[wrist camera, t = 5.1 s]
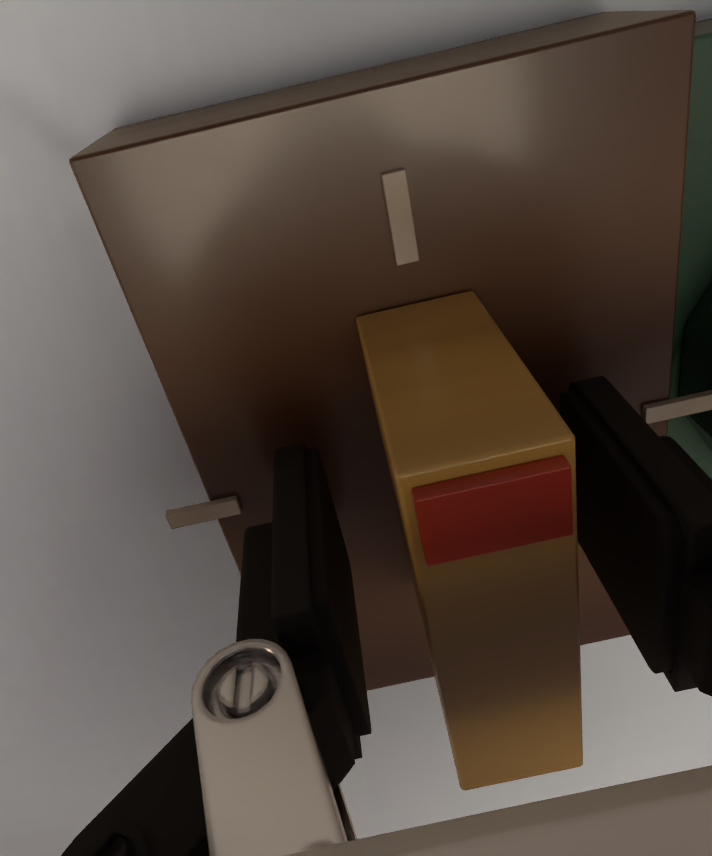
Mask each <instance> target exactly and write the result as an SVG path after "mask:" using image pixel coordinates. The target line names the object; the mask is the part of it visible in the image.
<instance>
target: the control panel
mask: <svg viewBox="0 0 712 856" xmlns="http://www.w3.org/2000/svg"><path fill="white" fill-rule="evenodd" d="M695 18H696V14H695V11H693V10H671V11H623V12H602V13H598V14H594V15H590V16H585V17H581V18H577V19H573V20H569V21H564V22H560V23H556V24H552V25H548V26H543V27H539V28H535V29H531V30H527V31H522V32H518V33H514V34H510V35H506V36H501V37H497V38H493V39H489V40H485V41H480V42H476V43H472V44H468V45H464V46H459V47H455V48H451V49H447V50H443V51H438V52H434V53H430V54H426V55H422V56H417V57H413V58H409V59H405V60H401V61H396V62H392V63H388V64H384V65H380V66H375V67H371V68H367V69H363V70H359V71H354V72H350V73H346V74H342V75H338V76H333V77H329V78H325V79H321V80H317V81H312V82H308V83H304V84H300V85H296V86H291V87H287V88H283V89H279V90H275V91H270V92H266V93H262V94H258V95H254V96H249V97H245V98H241V99H237V100H233V101H228V102H224V103H220V104H216V105H212V106H207V107H203V108H199V109H195V110H191V111H186V112H182V113H178V114H174V115H170V116H165V117H161V118H157V119H153V120H149V121H144V122H140V123H136V124H132V125H128V126H123V127H119V128H115V129H114V130H112V131H111V132H109V133H108V134H106V135H105V136H103V137H102V138H100V139H99V140H97V141H96V142H94V143H92V144H91V145H89V146H88V147H86V148H85V149H83V150H82V151H80V152H79V153H77V154H76V155H74V156H73V157H71V158H70V159H69V163H70V165H71V168H72V170H73V173H74V175H75V177H76V180H77V182H78V185H79V187H80V189H81V192H82V194H83V197H84V199H85V201H86V204H87V206H88V209H89V211H90V213H91V216H92V218H93V221H94V223H95V225H96V228H97V230H98V233H99V235H100V237H101V240H102V242H103V245H104V247H105V250H106V252H107V254H108V257H109V259H110V262H111V264H112V266H113V269H114V271H115V274H116V276H117V278H118V281H119V283H120V286H121V288H122V290H123V293H124V295H125V298H126V300H127V302H128V305H129V307H130V310H131V312H132V314H133V317H134V319H135V322H136V324H137V326H138V329H139V331H140V334H141V336H142V338H143V341H144V343H145V346H146V348H147V351H148V353H149V355H150V358H151V360H152V363H153V365H154V367H155V370H156V372H157V375H158V377H159V379H160V382H161V384H162V387H163V389H164V391H165V394H166V396H167V399H168V401H169V403H170V406H171V408H172V411H173V413H174V415H175V418H176V420H177V423H178V425H179V427H180V430H181V432H182V435H183V437H184V440H185V442H186V444H187V447H188V449H189V452H190V454H191V456H192V459H193V461H194V464H195V466H196V468H197V471H198V473H199V476H200V478H201V480H202V483H203V485H204V488H205V490H206V492H207V495H208V497H209V500H210V501H208V502H203V503H199V504H194V505H190V506H185V507H181V508H176V509H172V510H167V511H166V514H165V516H166V518H167V520H168V523H169V525H170V527H171V529H174V528H179V527H184V526H188V525H193V524H197V523H202V522H206V521H211V520H215V519H218V521H219V524H220V526H221V528H222V531H223V533H224V536H225V538H226V541H227V543H228V545H229V548H230V550H231V553H232V555H233V557H234V560H235V562H236V565H237V567H238V569H239V572H240V574H241V570H242V556H243V543H244V533H245V530H246V528H247V527H252V526H256V525H261V524H265V523H270V522H272V517H273V466H274V449H275V448H279V447H284V446H288V445H293V444H297V443H302V442H304V443H305V445H306V448H307V449H311V448H316V447H317V448H318V451H319V454H320V458H321V461H322V465H323V468H324V472H325V475H326V479H327V482H328V486H329V489H330V493H331V496H332V500H333V503H334V507H335V510H336V514H337V517H338V521H339V524H340V528H341V531H342V535H343V538H344V542H345V545H346V549H347V553H348V556H349V561H350V566H351V571H352V579H353V587H354V595H355V603H356V611H357V619H358V627H359V635H360V643H361V651H362V659H363V667H364V675H365V683H366V690H367V691H368V690H372V689H377V688H382V687H386V686H391V685H396V684H401V683H405V682H410V681H415V680H419V679H424V678H429V677H434V671H433V667H432V663H431V658H430V654H429V650H428V645H427V641H426V637H425V632H424V628H423V624H422V620H421V615H420V611H419V607H418V602H417V598H416V594H415V589H414V585H413V580H412V576H411V571H410V567H409V562H408V557H407V553H406V548H405V544H404V539H403V534H402V530H401V525H400V521H399V516H398V511H397V507H396V502H395V498H394V493H393V488H392V484H391V479H390V475H389V470H388V466H387V461H386V456H385V452H384V447H383V443H382V438H381V433H380V429H379V424H378V420H377V415H376V410H375V406H374V401H373V397H372V392H371V388H370V383H369V378H368V374H367V369H366V365H365V360H364V355H363V351H362V346H361V342H360V337H359V332H358V328H357V323H356V319H357V317H359V316H363V315H367V314H372V313H376V312H380V311H385V310H389V309H393V308H398V307H402V306H407V305H411V304H415V303H420V302H424V301H429V300H433V299H437V298H442V297H446V296H450V295H455V294H459V293H464V292H468V291H473V292H474V293H475V295H476V296H477V297H478V299H479V300H480V302H481V303H482V305H483V306H484V307H485V309H486V310H487V312H488V313H489V315H490V316H491V317H492V319H493V320H494V322H495V323H496V325H497V326H498V327H499V329H500V330H501V332H502V333H503V334H504V336H505V337H506V339H507V340H508V342H509V343H510V344H511V346H512V347H513V349H514V350H515V352H516V353H517V354H518V356H519V357H520V359H521V360H522V362H523V363H524V364H525V366H526V367H527V369H528V370H529V372H530V373H531V374H532V376H533V377H534V379H535V380H536V382H537V383H538V384H539V386H540V387H541V389H542V390H543V392H544V393H545V394H546V396H547V397H548V399H549V400H550V402H551V403H552V404H553V406H554V407H555V409H556V410H557V412H558V413H559V414H560V394H561V393H562V392H567V391H568V388H569V384H570V383H571V382H575V381H579V380H584V379H588V378H593V377H597V376H604V377H605V378H607V379H608V381H609V382H610V383H611V384H612V385H613V386H614V387H615V388H616V389H617V391H618V392H619V393H620V394H621V395H622V396H623V397H624V398H625V399H626V401H627V402H628V403H629V404H630V405H631V406H632V407H633V408H634V409H635V411H636V412H637V413H638V414H639V415H640V416H641V417H642V418H643V419H644V421H645V422H646V423H647V424H648V425H649V426H650V427H651V428H652V429H653V430H654V432H655V433H656V434H657V435H658V436H659V437H660V436H667V430H668V419H672V418H677V417H681V416H686V415H690V414H695V413H699V412H704V411H708V410H712V390H708V391H704V392H699V393H695V394H690V395H686V396H681V397H677V398H672V399H670V386H671V371H672V356H673V341H674V327H675V312H676V297H677V283H678V268H679V253H680V239H681V224H682V209H683V194H684V180H685V165H686V150H687V136H688V121H689V106H690V92H691V77H692V62H693V47H694V33H695ZM578 582H579V624H580V645H584V644H589V643H593V642H598V641H603V640H608V639H612V638H617V637H622V636H626V635H631V634H630V633H629V631H628V629H627V627H626V626H625V624H624V622H623V620H622V619H621V617H620V615H619V613H618V611H617V610H616V608H615V606H614V604H613V603H612V601H611V599H610V597H609V596H608V594H607V592H606V590H605V588H604V587H603V585H602V583H601V581H600V580H599V578H598V576H597V574H596V573H595V571H594V569H593V567H592V565H591V564H590V562H589V560H588V558H587V557H586V555H585V553H584V551H583V550H582V548H581V546H580V544H579V542H578Z"/></svg>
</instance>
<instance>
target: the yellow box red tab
mask: <svg viewBox="0 0 712 856" xmlns="http://www.w3.org/2000/svg"><path fill="white" fill-rule="evenodd" d="M356 323H357V328H358V332H359V337H360V342H361V346H362V351H363V355H364V360H365V365H366V369H367V374H368V378H369V383H370V388H371V392H372V397H373V401H374V406H375V410H376V415H377V420H378V424H379V429H380V433H381V438H382V443H383V447H384V452H385V456H386V461H387V466H388V470H389V475H390V479H391V484H392V488H393V493H394V498H395V502H396V507H397V511H398V516H399V521H400V525H401V530H402V534H403V539H404V544H405V548H406V553H407V557H408V562H409V567H410V571H411V576H412V580H413V585H414V589H415V594H416V598H417V602H418V607H419V611H420V615H421V620H422V624H423V628H424V632H425V637H426V641H427V645H428V650H429V654H430V658H431V663H432V667H433V671H434V676H435V680H436V684H437V689H438V693H439V697H440V702H441V706H442V710H443V714H444V719H445V723H446V727H447V732H448V736H449V740H450V745H451V749H452V753H453V758H454V762H455V766H456V771H457V775H458V779H459V783H460V787H461V788H462V790H469V789H474V788H479V787H484V786H489V785H493V784H498V783H503V782H508V781H513V780H518V779H522V778H527V777H532V776H537V775H542V774H546V773H551V772H556V771H561V770H566V769H570V768H575V767H580V766H582V765H583V749H582V707H581V666H580V624H579V582H578V541H577V499H576V457H575V436H574V434H573V433H572V432H571V430H570V429H569V427H568V426H567V424H566V423H565V422H564V420H563V419H562V417H561V416H560V414H559V413H558V412H557V410H556V409H555V407H554V406H553V404H552V403H551V402H550V400H549V399H548V397H547V396H546V394H545V393H544V392H543V390H542V389H541V387H540V386H539V384H538V383H537V382H536V380H535V379H534V377H533V376H532V374H531V373H530V372H529V370H528V369H527V367H526V366H525V364H524V363H523V362H522V360H521V359H520V357H519V356H518V354H517V353H516V352H515V350H514V349H513V347H512V346H511V344H510V343H509V342H508V340H507V339H506V337H505V336H504V334H503V333H502V332H501V330H500V329H499V327H498V326H497V325H496V323H495V322H494V320H493V319H492V317H491V316H490V315H489V313H488V312H487V310H486V309H485V307H484V306H483V305H482V303H481V302H480V300H479V299H478V297H477V296H476V295H475V293H474V292H473V291H468V292H464V293H459V294H455V295H450V296H446V297H442V298H437V299H433V300H429V301H424V302H420V303H415V304H411V305H407V306H402V307H398V308H393V309H389V310H385V311H380V312H376V313H372V314H367V315H363V316H359V317H357V319H356Z"/></svg>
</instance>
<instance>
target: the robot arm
mask: <svg viewBox="0 0 712 856" xmlns="http://www.w3.org/2000/svg"><path fill="white" fill-rule="evenodd" d="M560 416H561V417H562V419H563V420H564V422H565V423H566V424H567V426H568V427H569V429H570V430H571V432H572V433H573V434H574V436H575V457H576V499H577V541H578V542H579V544H580V546H581V548H582V550H583V551H584V553H585V555H586V557H587V558H588V560H589V562H590V564H591V565H592V567H593V569H594V571H595V573H596V574H597V576H598V578H599V580H600V581H601V583H602V585H603V587H604V588H605V590H606V592H607V594H608V596H609V597H610V599H611V601H612V603H613V604H614V606H615V608H616V610H617V611H618V613H619V615H620V617H621V619H622V620H623V622H624V624H625V626H626V627H627V629H628V631H629V633H630V634H631V636H632V638H633V640H634V642H635V643H636V645H637V647H638V649H639V650H640V652H641V654H642V656H643V657H644V659H645V661H646V663H647V664H648V666H649V668H650V669H651V670H652V671H653V672H654V673H661V672H664V674H665V676H666V678H667V679H668V681H669V683H670V684H671V686H672V688H673V690H674V691H675V692H677V691H682V690H687V689H692V688H696V687H698V689H699V691H700V692H703V693H705V694H707V695H710V696H712V479H711V478H710V477H709V476H708V475H707V474H706V473H705V472H704V471H703V470H702V469H701V468H700V466H699V465H698V464H697V463H696V462H695V461H694V460H693V459H692V458H691V457H690V456H689V455H688V454H687V453H686V451H685V450H684V449H683V448H682V447H681V446H680V445H679V444H678V443H677V442H676V441H675V440H674V439H672V438H671V437H669V436H660V437H659V436H658V435H657V434H656V433H655V432H654V430H653V429H652V428H651V427H650V426H649V425H648V424H647V423H646V422H645V421H644V419H643V418H642V417H641V416H640V415H639V414H638V413H637V412H636V411H635V409H634V408H633V407H632V406H631V405H630V404H629V403H628V402H627V401H626V399H625V398H624V397H623V396H622V395H621V394H620V393H619V392H618V391H617V389H616V388H615V387H614V386H613V385H612V384H611V383H610V382H609V381H608V379H607V378H605V377H604V376H597V377H593V378H588V379H584V380H579V381H575V382H571V383H570V384H569V388H568V391H567V392H562V393H561V394H560ZM191 706H192V714H193V718H192V719H191V720H190V721H189V722H188V723H187V724H186V725H185V726H184V727H183V728H182V729H181V730H180V731H179V732H178V733H177V734H176V735H175V736H174V737H173V739H172V740H171V741H170V742H169V743H168V744H167V745H166V746H165V747H164V748H163V749H162V750H161V751H160V752H159V753H158V754H157V755H156V756H155V757H154V758H153V759H152V760H151V761H150V762H149V763H148V764H147V765H146V766H145V767H144V768H143V769H142V770H141V771H140V772H139V773H138V774H137V775H136V776H135V777H134V778H133V779H132V780H131V781H130V782H129V783H128V784H127V785H126V786H125V787H124V789H123V790H122V791H121V792H120V793H119V794H118V795H117V796H116V797H115V798H114V799H113V800H112V801H111V802H110V803H109V804H108V805H107V806H106V807H105V808H104V809H103V810H102V811H101V812H100V813H99V814H98V815H97V816H96V817H95V818H94V819H93V820H92V821H91V822H90V823H89V824H88V825H87V826H86V827H85V828H84V829H83V830H82V831H81V832H80V833H79V834H78V835H77V836H76V838H75V839H74V840H73V841H72V843H71V844H70V845H69V846H68V848H67V849H66V850H65V851H64V852H63V854H62V855H61V856H712V766H707V767H702V768H697V769H692V770H687V771H682V772H678V773H673V774H668V775H663V776H658V777H653V778H648V779H644V780H639V781H634V782H629V783H624V784H619V785H614V786H610V787H605V788H600V789H595V790H590V791H585V792H581V793H576V794H571V795H566V796H561V797H557V798H552V799H547V800H542V801H537V802H532V803H528V804H523V805H518V806H513V807H508V808H503V809H499V810H494V811H489V812H485V813H480V814H475V815H470V816H466V817H461V818H456V819H452V820H447V821H442V822H437V823H433V824H428V825H423V826H419V827H414V828H409V829H404V830H400V831H395V832H390V833H386V834H381V835H376V836H371V837H367V838H362V839H357V837H356V834H355V831H354V827H353V824H352V821H351V818H350V815H349V812H348V808H347V805H346V802H345V799H344V796H343V792H342V789H341V786H340V783H341V781H342V780H343V779H344V777H345V776H346V775H347V773H348V772H349V771H350V769H351V768H352V767H353V765H354V764H355V760H354V759H358V758H362V751H361V742H360V736H362V735H367V734H371V722H370V714H369V706H368V698H367V690H366V683H365V675H364V667H363V659H362V651H361V643H360V635H359V627H358V619H357V611H356V603H355V595H354V587H353V579H352V571H351V566H350V561H349V556H348V553H347V549H346V545H345V542H344V538H343V535H342V531H341V528H340V524H339V521H338V517H337V514H336V510H335V507H334V503H333V500H332V496H331V493H330V489H329V486H328V482H327V479H326V475H325V472H324V468H323V465H322V461H321V458H320V454H319V451H318V448H317V447H316V448H311V449H307V448H306V445H305V443H304V442H302V443H297V444H293V445H288V446H284V447H279V448H275V449H274V466H273V517H272V522H270V523H265V524H261V525H256V526H252V527H247V528H246V530H245V533H244V543H243V556H242V570H241V583H240V597H239V610H238V624H237V637H236V643H233V644H231V645H229V646H227V647H225V648H223V649H222V650H220V651H218V652H217V653H216V654H215V655H214V656H213V657H211V658H210V659H209V660H208V661H207V662H206V663H205V665H204V666H203V667H202V669H201V670H200V671H199V673H198V674H197V677H196V679H195V682H194V684H193V687H192V695H191Z"/></svg>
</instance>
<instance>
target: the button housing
mask: <svg viewBox="0 0 712 856" xmlns="http://www.w3.org/2000/svg"><path fill="white" fill-rule="evenodd" d="M708 390H712V19H710V20H705V21H701V22H697V23H695V33H694V47H693V62H692V77H691V92H690V106H689V121H688V136H687V150H686V165H685V180H684V194H683V209H682V224H681V239H680V253H679V268H678V283H677V297H676V312H675V327H674V341H673V356H672V371H671V386H670V399H672V398H677V397H681V396H686V395H690V394H695V393H699V392H704V391H708ZM667 436H669V437H671V438H672V439H674V440H675V441H676V442H677V443H678V444H679V445H680V446H681V447H682V448H683V449H684V450H685V451H686V453H687V454H688V455H689V456H690V457H691V458H692V459H693V460H694V461H695V462H696V463H697V464H698V465H699V466H700V468H701V469H702V470H703V471H704V472H705V473H706V474H707V475H708V476H709V477H710V478H711V479H712V410H708V411H704V412H699V413H695V414H690V415H686V416H681V417H677V418H672V419H668V430H667Z"/></svg>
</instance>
